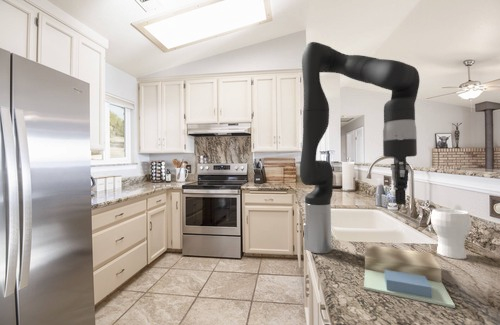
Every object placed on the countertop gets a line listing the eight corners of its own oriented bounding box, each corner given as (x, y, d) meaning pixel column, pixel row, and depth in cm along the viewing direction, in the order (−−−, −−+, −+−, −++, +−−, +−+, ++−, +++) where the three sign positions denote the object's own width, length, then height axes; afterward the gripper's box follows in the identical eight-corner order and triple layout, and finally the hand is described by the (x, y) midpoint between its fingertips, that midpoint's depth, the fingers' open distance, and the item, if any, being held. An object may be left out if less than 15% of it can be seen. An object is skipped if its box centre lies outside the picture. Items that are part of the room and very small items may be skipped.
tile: (384, 269, 64) (384, 279, 64) (386, 279, 58) (386, 289, 58) (425, 276, 60) (425, 286, 60) (431, 287, 54) (431, 298, 54)
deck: (365, 270, 70) (364, 257, 70) (366, 256, 81) (365, 244, 81) (441, 284, 62) (441, 268, 62) (431, 266, 72) (431, 253, 72)
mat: (363, 289, 60) (363, 286, 60) (365, 271, 70) (365, 269, 70) (455, 308, 51) (455, 305, 51) (442, 284, 61) (441, 282, 61)
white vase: (432, 247, 88) (431, 207, 89) (470, 253, 82) (469, 210, 82) (431, 255, 80) (430, 211, 80) (474, 263, 74) (472, 215, 74)
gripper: (382, 141, 70) (383, 199, 70) (384, 137, 59) (385, 207, 58) (412, 140, 67) (413, 201, 67) (420, 135, 55) (422, 209, 55)
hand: (400, 203), depth 63 cm, fingers closed
